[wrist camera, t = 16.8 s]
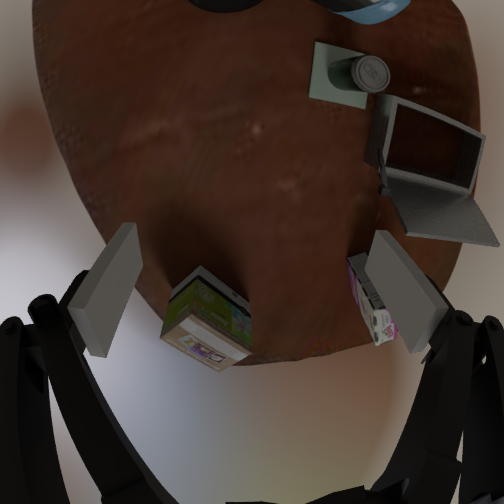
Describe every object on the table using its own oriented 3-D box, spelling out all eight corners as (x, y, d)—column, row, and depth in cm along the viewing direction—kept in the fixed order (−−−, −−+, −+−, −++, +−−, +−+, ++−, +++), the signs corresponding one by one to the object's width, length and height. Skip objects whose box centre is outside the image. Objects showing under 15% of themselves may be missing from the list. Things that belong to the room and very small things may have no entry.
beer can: (319, 75, 37) (345, 71, 27) (339, 54, 35) (370, 46, 25) (343, 96, 39) (375, 101, 29) (362, 76, 37) (398, 75, 27)
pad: (314, 42, 34) (315, 41, 34) (370, 56, 35) (372, 56, 35) (308, 97, 40) (309, 97, 39) (363, 108, 41) (365, 109, 40)
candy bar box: (370, 287, 62) (397, 338, 48) (351, 294, 63) (374, 347, 49) (366, 249, 56) (399, 301, 42) (344, 257, 57) (372, 311, 43)
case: (369, 91, 39) (433, 100, 23) (467, 129, 41) (529, 156, 26) (351, 185, 48) (398, 235, 33) (447, 204, 51) (498, 248, 35)
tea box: (251, 301, 62) (255, 354, 50) (221, 323, 66) (218, 374, 54) (200, 262, 56) (191, 315, 44) (170, 288, 60) (157, 340, 47)
